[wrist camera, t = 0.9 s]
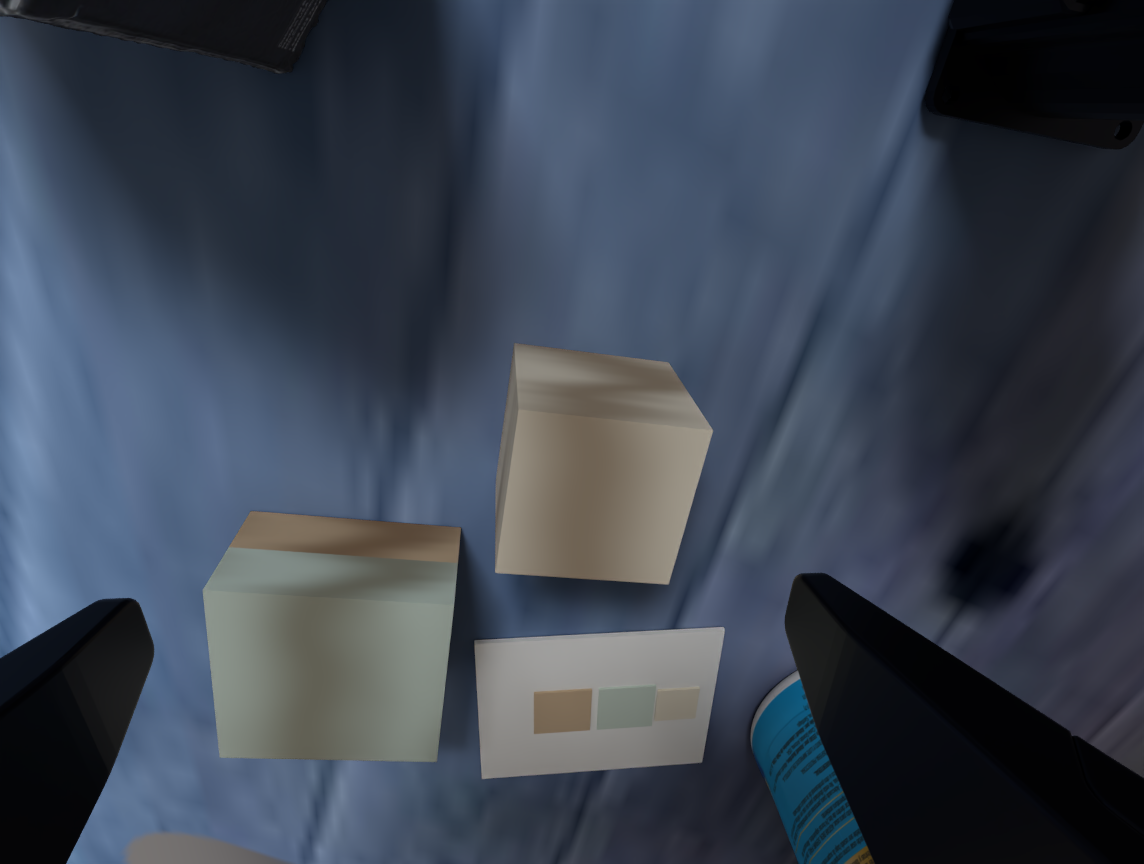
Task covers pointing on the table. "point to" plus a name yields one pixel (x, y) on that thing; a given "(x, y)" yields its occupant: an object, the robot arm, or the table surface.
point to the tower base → (331, 638)
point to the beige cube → (595, 466)
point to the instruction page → (595, 700)
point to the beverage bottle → (804, 780)
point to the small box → (189, 25)
